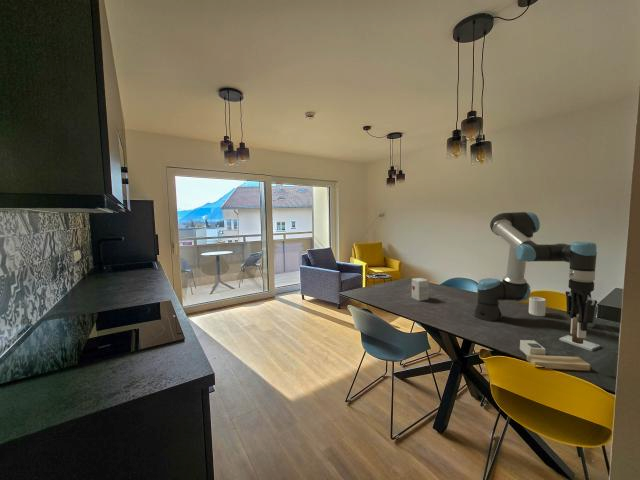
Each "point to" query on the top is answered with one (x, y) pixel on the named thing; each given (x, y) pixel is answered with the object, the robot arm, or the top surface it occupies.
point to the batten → (559, 362)
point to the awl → (574, 333)
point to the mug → (537, 306)
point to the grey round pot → (593, 317)
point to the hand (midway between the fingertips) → (577, 335)
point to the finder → (531, 347)
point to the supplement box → (420, 289)
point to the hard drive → (585, 344)
